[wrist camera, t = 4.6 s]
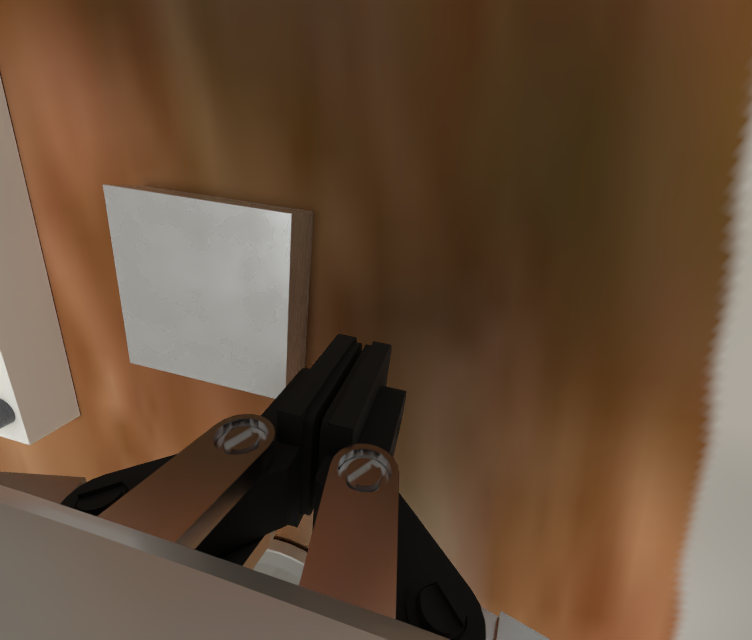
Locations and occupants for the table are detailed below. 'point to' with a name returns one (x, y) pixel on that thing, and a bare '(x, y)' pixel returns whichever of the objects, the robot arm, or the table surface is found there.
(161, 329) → the metal plate
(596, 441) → the table surface
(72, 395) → the bar
